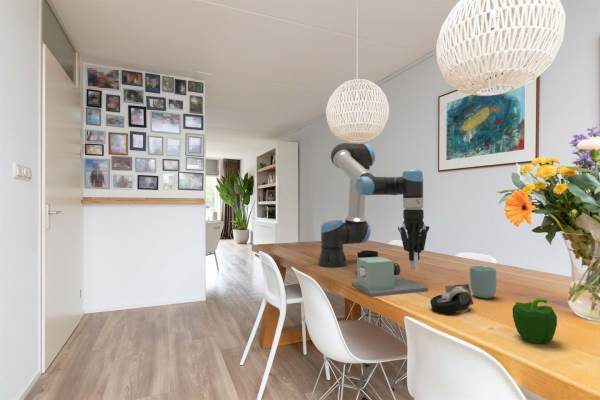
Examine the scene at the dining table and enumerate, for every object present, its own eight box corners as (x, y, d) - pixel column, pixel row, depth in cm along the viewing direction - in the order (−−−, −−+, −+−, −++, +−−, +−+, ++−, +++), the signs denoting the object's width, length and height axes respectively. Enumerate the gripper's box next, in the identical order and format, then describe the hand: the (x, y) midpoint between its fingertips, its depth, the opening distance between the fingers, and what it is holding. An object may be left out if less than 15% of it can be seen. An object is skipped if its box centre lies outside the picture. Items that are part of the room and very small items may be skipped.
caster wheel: (433, 321, 92) (434, 306, 101) (476, 319, 87) (473, 303, 95) (427, 300, 91) (429, 286, 100) (470, 296, 86) (468, 282, 95)
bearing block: (351, 285, 124) (351, 257, 124) (402, 280, 130) (402, 253, 130) (371, 296, 108) (370, 264, 109) (427, 290, 114) (427, 260, 115)
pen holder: (354, 271, 148) (354, 250, 148) (373, 270, 150) (373, 250, 150) (362, 276, 139) (361, 253, 139) (381, 275, 141) (381, 253, 141)
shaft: (357, 276, 118) (357, 264, 118) (393, 273, 122) (393, 261, 122) (363, 279, 114) (362, 266, 114) (400, 276, 118) (400, 264, 118)
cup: (489, 293, 110) (488, 265, 110) (501, 300, 102) (500, 270, 102) (466, 293, 110) (465, 265, 111) (476, 300, 103) (476, 270, 103)
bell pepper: (505, 337, 75) (504, 295, 75) (522, 329, 79) (521, 290, 79) (547, 351, 67) (546, 305, 68) (563, 342, 72) (562, 298, 72)
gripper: (404, 209, 117) (405, 272, 117) (433, 208, 120) (435, 269, 120) (393, 209, 124) (394, 268, 124) (421, 208, 128) (422, 266, 127)
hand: (414, 268), depth 122 cm, fingers closed
